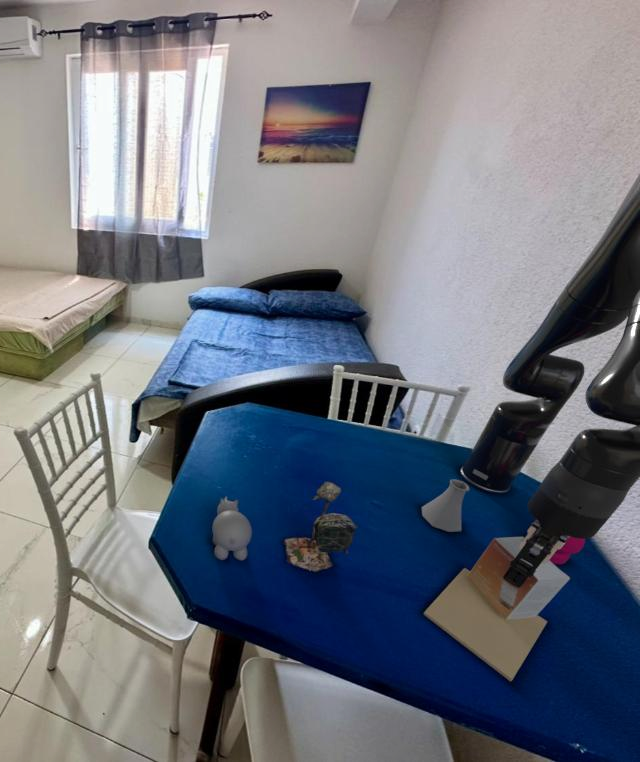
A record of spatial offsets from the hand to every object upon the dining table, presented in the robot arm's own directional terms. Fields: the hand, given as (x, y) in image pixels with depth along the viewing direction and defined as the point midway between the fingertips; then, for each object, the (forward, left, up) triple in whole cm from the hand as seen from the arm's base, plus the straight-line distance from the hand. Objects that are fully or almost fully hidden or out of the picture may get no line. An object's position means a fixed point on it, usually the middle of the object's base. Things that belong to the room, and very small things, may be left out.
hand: (520, 570), depth 66 cm
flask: (-13, -14, -9) cm, 21 cm away
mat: (+5, 0, -9) cm, 10 cm away
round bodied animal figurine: (+30, -35, -9) cm, 47 cm away
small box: (0, 0, -7) cm, 7 cm away
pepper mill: (-22, +1, -9) cm, 24 cm away
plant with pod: (+19, -23, -9) cm, 31 cm away
